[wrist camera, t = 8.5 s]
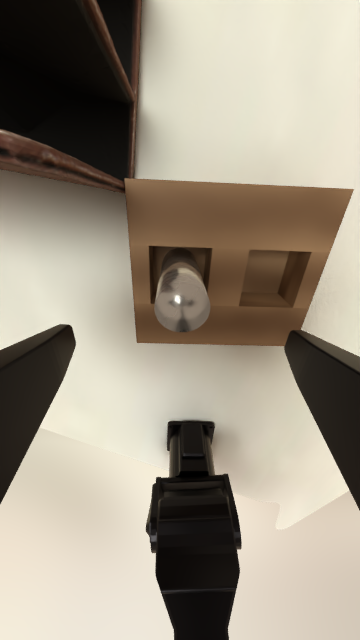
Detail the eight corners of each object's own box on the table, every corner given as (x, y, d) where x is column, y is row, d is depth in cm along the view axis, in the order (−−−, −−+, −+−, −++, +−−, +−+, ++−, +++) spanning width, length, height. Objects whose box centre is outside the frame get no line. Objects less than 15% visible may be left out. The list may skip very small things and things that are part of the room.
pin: (195, 283, 19) (206, 333, 12) (161, 281, 19) (154, 331, 12) (198, 248, 18) (213, 283, 11) (162, 246, 18) (154, 281, 11)
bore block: (278, 325, 22) (294, 346, 19) (142, 322, 22) (136, 342, 19) (320, 190, 16) (353, 189, 13) (134, 181, 16) (124, 178, 13)
